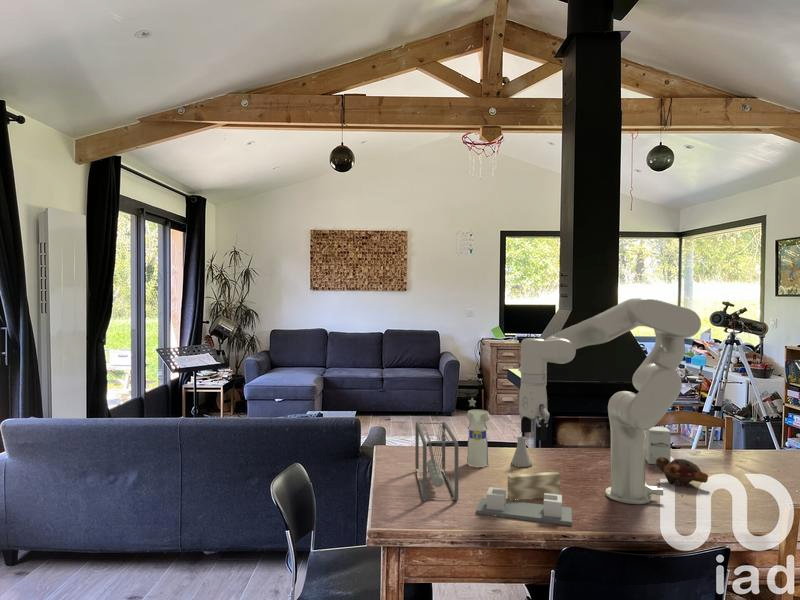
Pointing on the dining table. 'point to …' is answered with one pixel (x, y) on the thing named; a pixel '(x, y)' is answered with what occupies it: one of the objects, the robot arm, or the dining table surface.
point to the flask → (521, 454)
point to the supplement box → (657, 444)
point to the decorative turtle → (681, 471)
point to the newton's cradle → (432, 464)
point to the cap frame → (525, 508)
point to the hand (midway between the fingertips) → (533, 436)
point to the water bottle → (477, 436)
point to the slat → (533, 485)
